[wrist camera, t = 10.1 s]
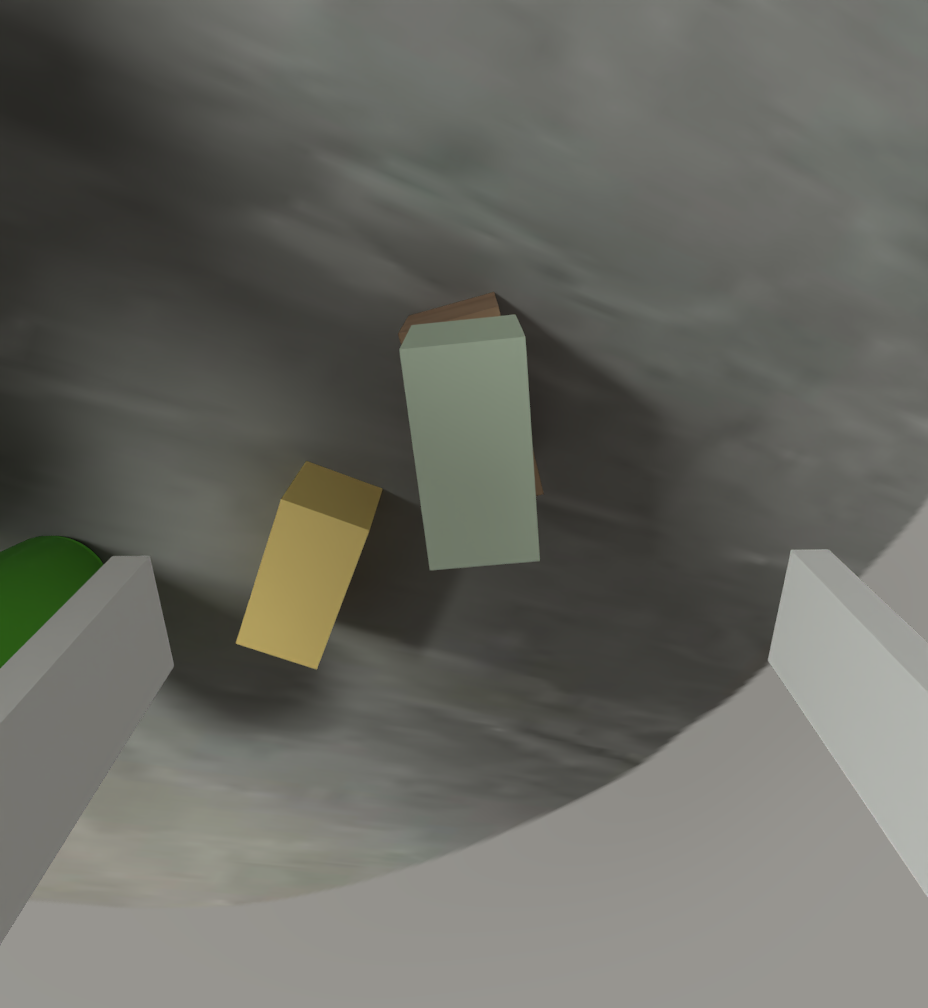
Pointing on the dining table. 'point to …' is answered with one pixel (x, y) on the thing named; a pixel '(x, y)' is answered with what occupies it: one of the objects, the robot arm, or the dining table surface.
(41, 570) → the cup
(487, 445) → the sage brick
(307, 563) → the mustard brick
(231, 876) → the dining table surface
